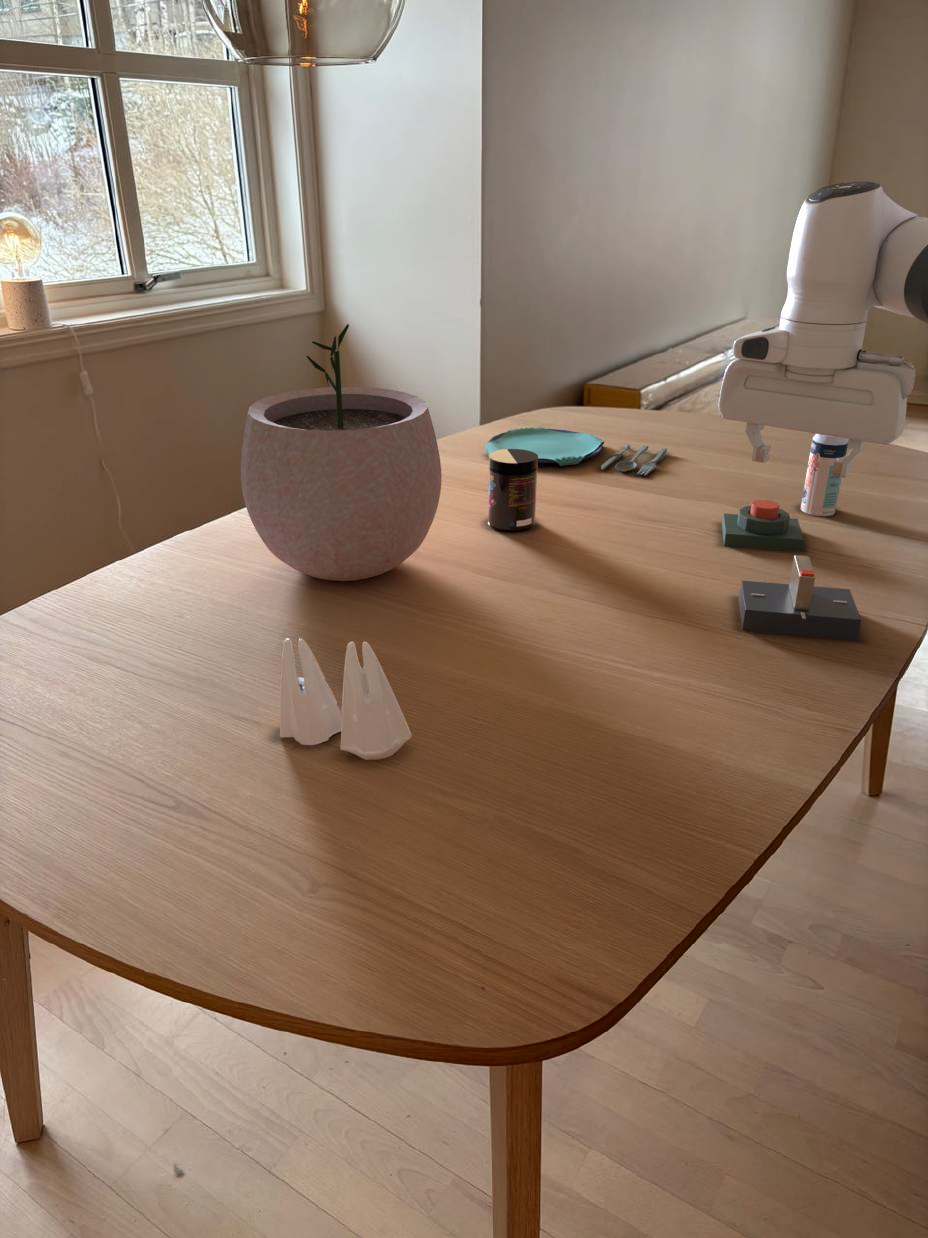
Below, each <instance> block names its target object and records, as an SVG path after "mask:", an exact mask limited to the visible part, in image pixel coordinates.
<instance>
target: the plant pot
mask: <svg viewBox="0 0 928 1238" xmlns="http://www.w3.org/2000/svg"><path fill="white" fill-rule="evenodd" d="M349 328H350V325H349V323H347V324H346V325H345V327H344V328H343V329H342V331H341V332H340V334H339V335H338V337H337V335H335V336H334V338H333V341H332V344H331V346H327V345H325V344H322V343H320V342H317V341H314V340H313V341H311V343H312V344H313V345H315V346H317V347H319V348H321V349H323V350H327V351H330V355H329V356H330V357H329V360H330V364H331V369H332V370H333V372H334V382H333V380H332V378H331V376H330V375H329V374H328V372H326V369H324V367H322V366H321V365H319V364H318V363H317V362H316V361H315V360H313V359H312V358H311V357H310V356H309V355H305V356H306V358H307V360H308V361H309V362H310V364H312V366H313V367H314V369H316V370H318V371H320V372H322V373H324V376H325V379H326V383H327V386H325V387H324V386H323V387H315V388H313V387H312V388H303V389H297V390H291V391H284V392H280V393H276V394H273V395H269V396H266V397H264V398H261V399H259V400H256V401H255V402H254V403H252V404H251V405H250V406H249V407H248V410H247V415H246V420H245V426H244V431H243V436H242V437H243V439H242V447H241V457H240V458H241V459H240V485H241V491H242V496H243V501H244V505H245V508H246V512H247V514H248V516H249V519H250V521H251V523H252V525H253V527H254V529H255V531H256V532H257V534H258V536H259V537H260V539H261V540H262V542H263V544H264V545H265V547H266V548H267V549H268V551H270V552H271V554H273V556H274V557H276V558H277V559H278V560H279V561H281V562H282V563H284V564H285V565H287V566H288V567H290V568H291V569H293V570H295V571H297V572H299V573H301V574H304V575H307V576H310V577H313V578H316V579H319V580H324V581H325V580H326V581H336V582H350V581H351V582H352V581H353V582H354V581H359V580H365V579H369V578H373V577H376V576H380V575H383V574H384V573H387V572H388V571H391V570H392V569H395V568H397V567H398V566H399V565H401V564H402V563H403V562H405V561H407V559H408V558H410V557H411V556H412V555H413V554H414V553H416V551H417V550H418V549H419V548H420V547H421V545H422V544H423V542H424V541H425V539H426V537H427V535H428V533H429V531H430V528H431V526H432V524H433V522H434V519H435V517H436V514H437V510H438V507H439V502H440V497H441V491H442V466H441V465H442V464H441V457H440V451H439V445H438V440H437V436H436V432H435V428H434V424H433V421H432V417H431V414H430V409H429V407H428V405H427V402H426V401H425V400H424V399H422V398H421V397H419V396H418V395H414V394H410V393H408V392H404V391H399V390H394V389H388V388H381V387H380V388H379V387H369V386H368V387H367V386H342V377H341V375H342V374H341V359H340V358H341V357H340V350H339V348H340V346H341V344H342V342H343V340H344V338H345V335H346V334H347V331H348V329H349ZM329 383H330V385H329Z"/></svg>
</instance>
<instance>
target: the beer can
mask: <svg viewBox="0 0 928 1238" xmlns="http://www.w3.org/2000/svg"><path fill="white" fill-rule="evenodd" d="M848 440H849V439H846V438H840V437H834V436H828V435H821V434H815V433H814V435H813V437H812V439H811V445H810V451H809V458H808V463H807V469H806V475H805V481H804V485H803V491H802V492H803V493H802V497H801V504H800V510H801V511H802V512H803V513H805V514H807V515H811V516H817V517H830V516H833V515H834V514H836V509H837V503H838V499H839V493H840V488H841V483H842V477H837V476H833V475H832V472H833V470H834V467H833V466H834V461H835V460H837V459H838V458H846V456H847V452H848V448H847V446H848Z"/></svg>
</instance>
